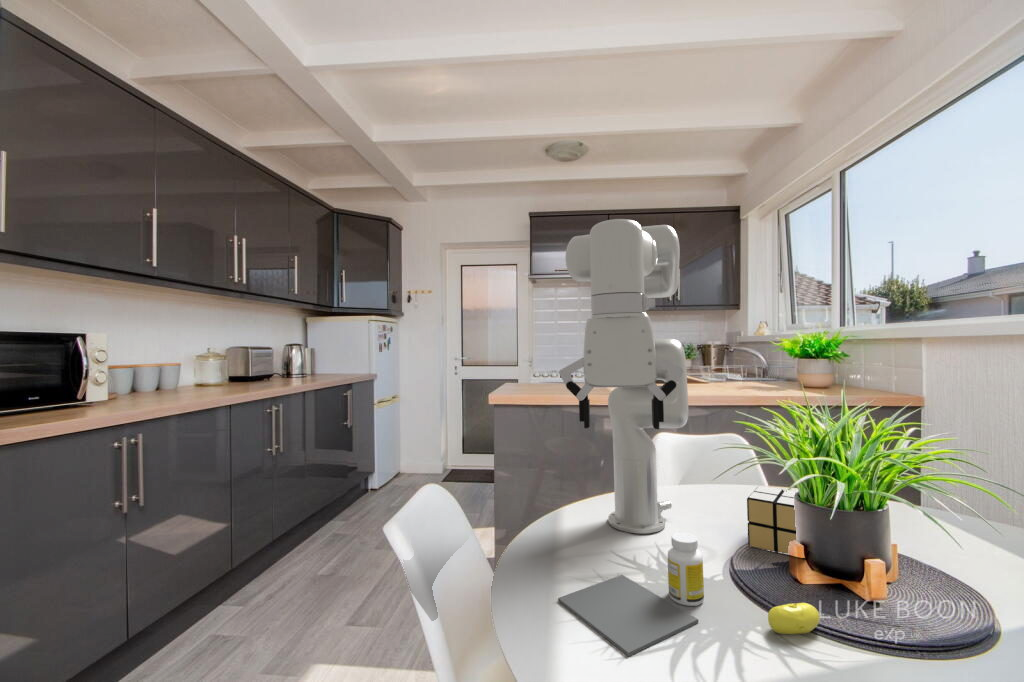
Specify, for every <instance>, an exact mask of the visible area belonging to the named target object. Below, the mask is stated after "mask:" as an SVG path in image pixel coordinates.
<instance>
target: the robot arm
mask: <svg viewBox="0 0 1024 682" xmlns="http://www.w3.org/2000/svg"><path fill="white" fill-rule="evenodd" d="M680 253H681V250H680V241H679V237H678V234H677V232H676V230H675V229H674V228H673V227H672V226H671V225H668V224H659V225H647V226H645V225H644V226H641V224H640V223H639V222H638V221H635V220H634V219H627V218H626V219H625V218H615V219H607V220H603V221H600V222H598V223H596V224H595V225H593V226H592V227H591V229H590V231H589V234H582V235H575V236H573V237H572V238H571V239H570V240H569V241H568V244H567V247H566V250H565V267H566V270H567V272H568V274H569V277H570V278H572V280H574V281H575V282H578V283H587V282H588V283H590V305H591V306H590V307H591V308H590V309H591V312H590V313H591V318H587V319H586V322H585V323H586V324H585V328H584V329H585V330H584V341H583V357H581V358H580V359H578V360H576V361H574V362H572V363H570V364H569V365H567V366H565V367H563V368H561V369H560V370H559V372H558V373H559V376H560V378H561V380H562V382H563V383H564V384H565V388H566V389H567V390H568V391H569V392H570V393H571V394H572V395H573V396H574V397H576V399H577V400H578V410H579V411H578V412H579V413H578V415H579V417H578V418H579V422H583V425H584V426H583V428H584V429H589V428H590V427H591V407H590V405H591V404H590V403H591V402H590V401H591V400H590V398H589V394H590V393H591V391H592V390H593V389H594V388H614V389H612V390H611V392H609V395H608V398H607V407H608V413H609V419H610V426H611V431H612V449H613V480H614V481H613V483H614V484H613V485H614V487H613V488H614V491H613V492H614V511H612V512H611V513H610V514H609V515H608V523H609V525H610V526H611V527H613V528H614V529H616V530H618V531H621V532H625V533H629V534H630V533H631V534H640V535H642V534H655V533H657V532H660V531H662V530H664V529H665V527H666V520H665V518H664V517H663V516H662V515H661V514H662V513H663V511H666V510H669V509H670V510H671V509H672V502H671V501H670V500H663V501H661V502H660V501H659V500H658V479H657V478H658V477H657V474H658V473H657V471H658V470H657V450H656V445H655V443H654V441H653V440H652V438H651V437H650V436H649V435H648V434H647V432H646V431H645V430H644V429H650V428H651V429H655V430H660V429H679V428H684V426H686V424H687V423H688V419H689V392H688V374H687V373H688V372H687V360H686V352H685V349H684V346H683V344H682V343H681V342H680V341H679V340H678V339H675V338H654V332H653V323H652V321H651V317H650V316H649V314H647V312H646V311H648V310H650V309H655V308H656V299H658V298H659V299H662V298H663V299H664V298H669V297H671V296H673V295H675V293H676V292H677V290H678V287H679V283H680V281H679V280H680V256H681V255H680ZM582 368H583V379H584V380H583V381H584V384H583V386H582V387H580V386H579V385H578V384H577V383H576V382H575V381H574V379H573V378H572V374H573V373H575V372H577V371H578V370H580V369H582ZM656 381H663V382H664V384H663V385H658V384H657V383H656Z"/></svg>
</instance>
